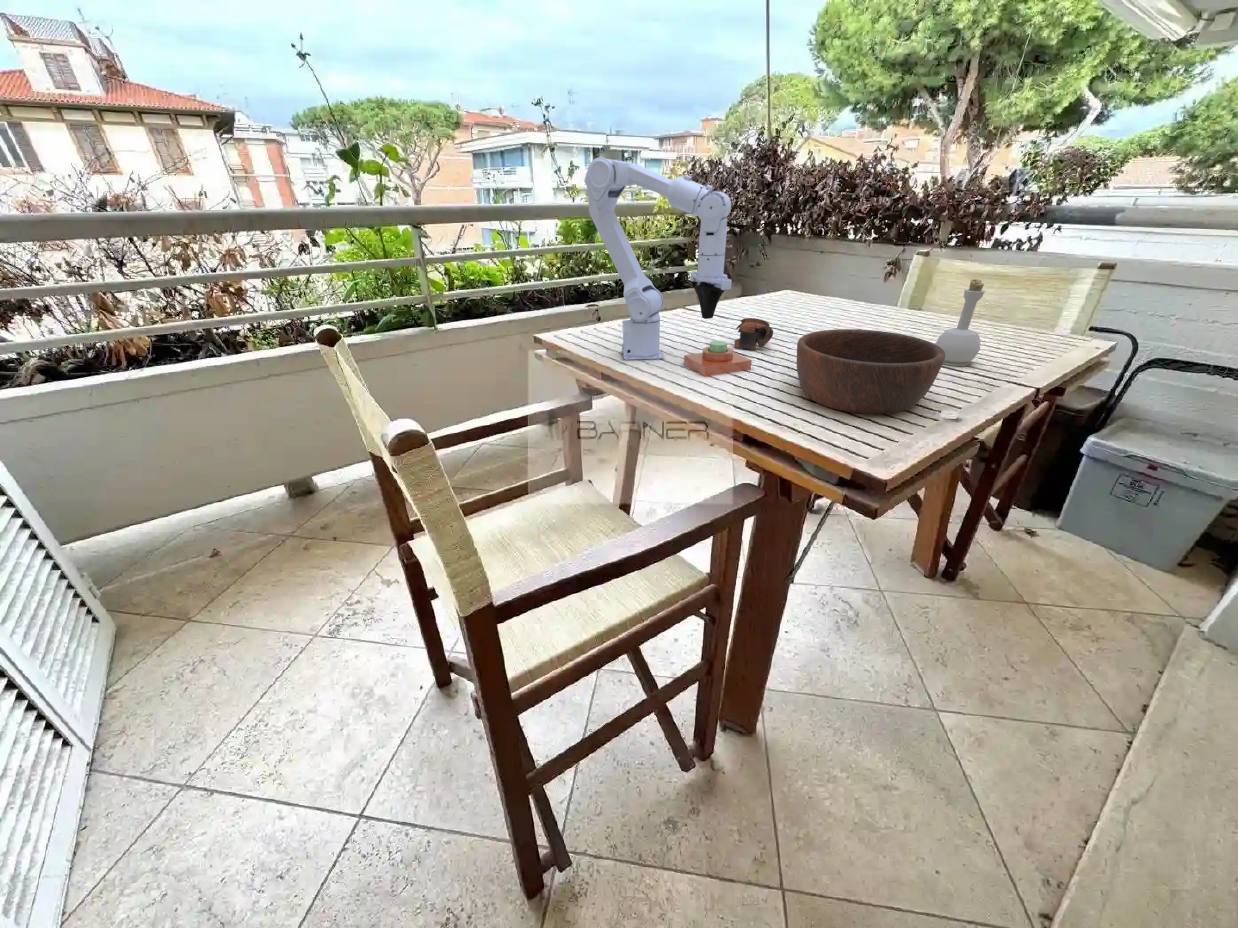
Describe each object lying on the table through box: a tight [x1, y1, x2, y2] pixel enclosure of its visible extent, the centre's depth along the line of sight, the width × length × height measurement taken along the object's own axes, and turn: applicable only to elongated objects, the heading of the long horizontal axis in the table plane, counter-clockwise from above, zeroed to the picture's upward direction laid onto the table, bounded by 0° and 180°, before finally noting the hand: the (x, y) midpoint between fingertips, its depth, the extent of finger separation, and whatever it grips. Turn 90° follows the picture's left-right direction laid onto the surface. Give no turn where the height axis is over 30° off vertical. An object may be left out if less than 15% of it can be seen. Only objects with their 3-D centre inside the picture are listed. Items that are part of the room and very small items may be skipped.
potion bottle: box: [934, 278, 986, 367], centre depth 108 cm, size 9×9×18 cm
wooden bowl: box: [796, 328, 945, 415], centre depth 92 cm, size 25×25×10 cm
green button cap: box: [708, 340, 728, 353], centre depth 111 cm, size 4×4×2 cm
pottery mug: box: [734, 317, 774, 351], centre depth 126 cm, size 12×10×8 cm
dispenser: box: [683, 346, 752, 377], centre depth 112 cm, size 12×10×4 cm
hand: (707, 318), depth 112 cm, fingers closed
